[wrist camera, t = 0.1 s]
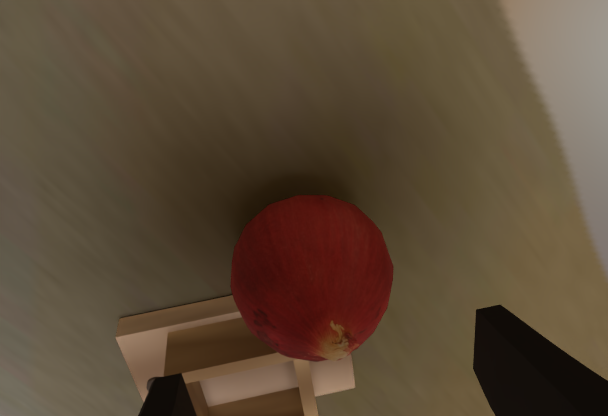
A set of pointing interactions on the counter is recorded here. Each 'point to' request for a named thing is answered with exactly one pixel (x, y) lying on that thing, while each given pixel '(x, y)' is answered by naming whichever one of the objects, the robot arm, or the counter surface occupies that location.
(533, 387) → the robot arm
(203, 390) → the bracket
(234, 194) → the counter surface
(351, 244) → the onion
